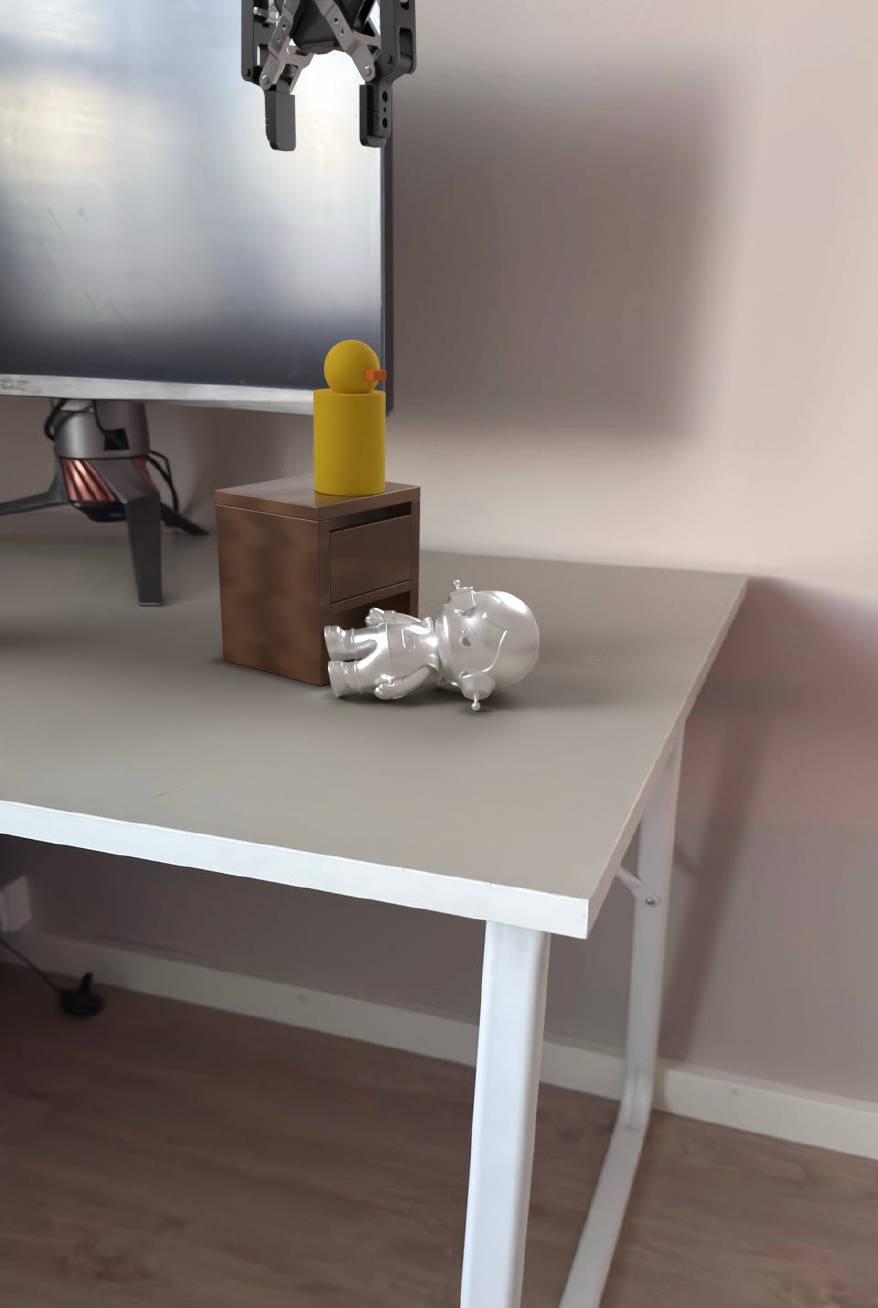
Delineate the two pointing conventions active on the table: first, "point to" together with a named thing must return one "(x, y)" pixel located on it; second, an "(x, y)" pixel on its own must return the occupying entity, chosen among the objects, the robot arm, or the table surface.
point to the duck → (350, 423)
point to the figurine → (438, 647)
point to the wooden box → (310, 569)
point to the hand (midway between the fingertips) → (326, 148)
